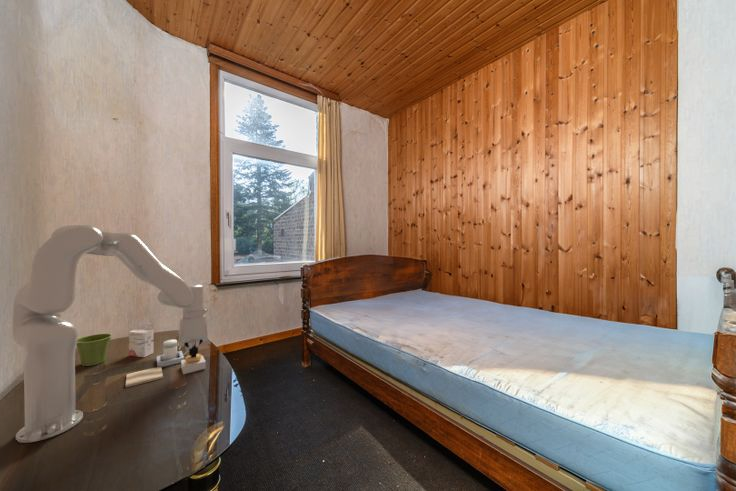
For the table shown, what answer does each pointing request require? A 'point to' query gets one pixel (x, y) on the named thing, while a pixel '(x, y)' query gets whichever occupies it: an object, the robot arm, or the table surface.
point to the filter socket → (169, 362)
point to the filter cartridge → (169, 349)
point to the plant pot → (93, 348)
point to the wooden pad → (143, 376)
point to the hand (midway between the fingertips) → (193, 356)
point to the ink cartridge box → (141, 340)
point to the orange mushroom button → (194, 359)
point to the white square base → (193, 365)
